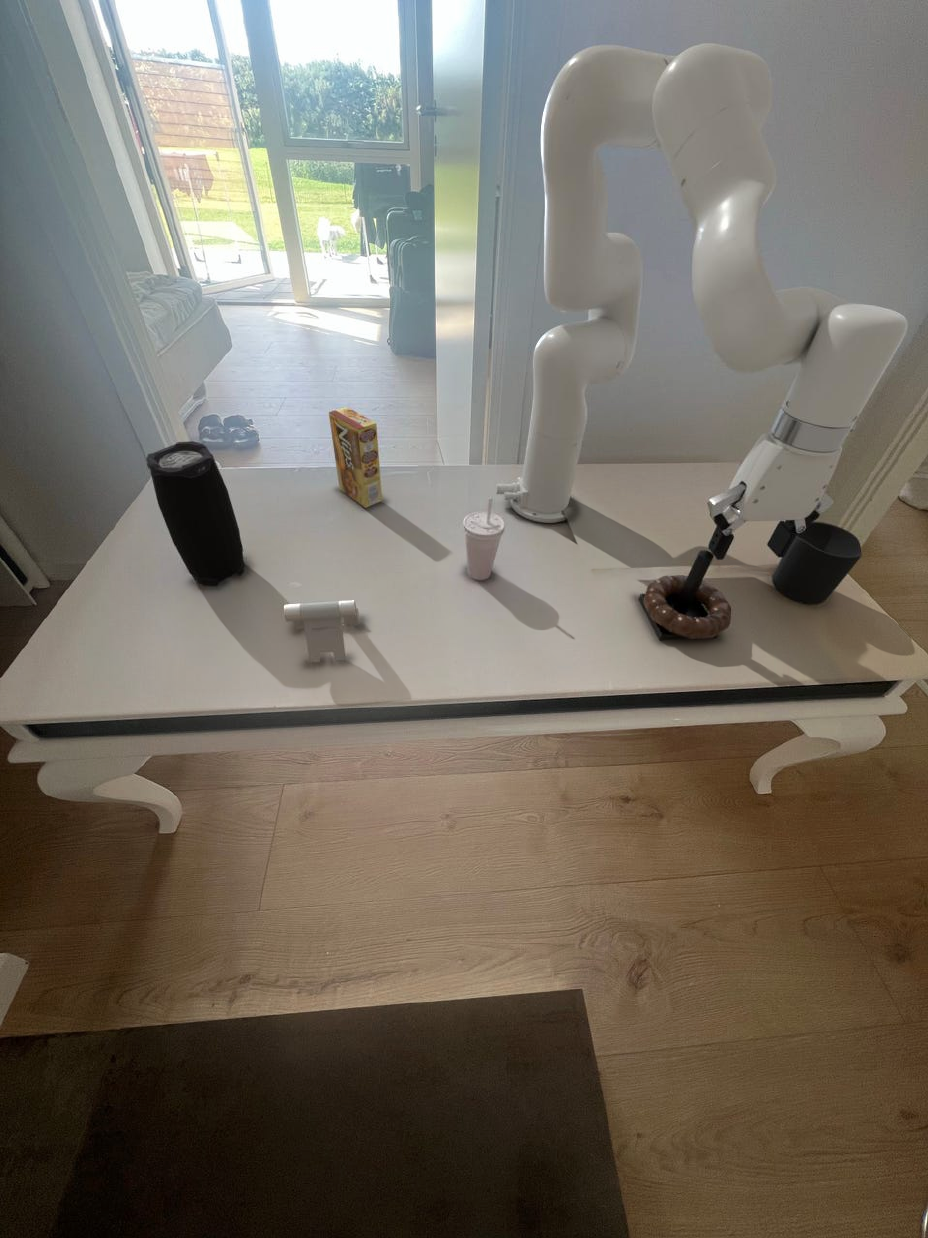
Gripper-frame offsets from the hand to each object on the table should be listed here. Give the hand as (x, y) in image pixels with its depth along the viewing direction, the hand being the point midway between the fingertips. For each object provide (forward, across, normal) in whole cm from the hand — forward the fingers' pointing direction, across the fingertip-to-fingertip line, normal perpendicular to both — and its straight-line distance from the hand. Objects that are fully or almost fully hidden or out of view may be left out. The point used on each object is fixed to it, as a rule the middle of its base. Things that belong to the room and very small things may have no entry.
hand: (745, 552), depth 72 cm
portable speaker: (+12, +75, -16) cm, 78 cm away
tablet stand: (+12, +58, +1) cm, 59 cm away
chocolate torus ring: (+10, +5, 0) cm, 11 cm away
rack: (+12, +6, 0) cm, 14 cm away
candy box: (+12, +54, -37) cm, 67 cm away
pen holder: (+13, -18, -6) cm, 23 cm away
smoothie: (+12, +34, -13) cm, 39 cm away
